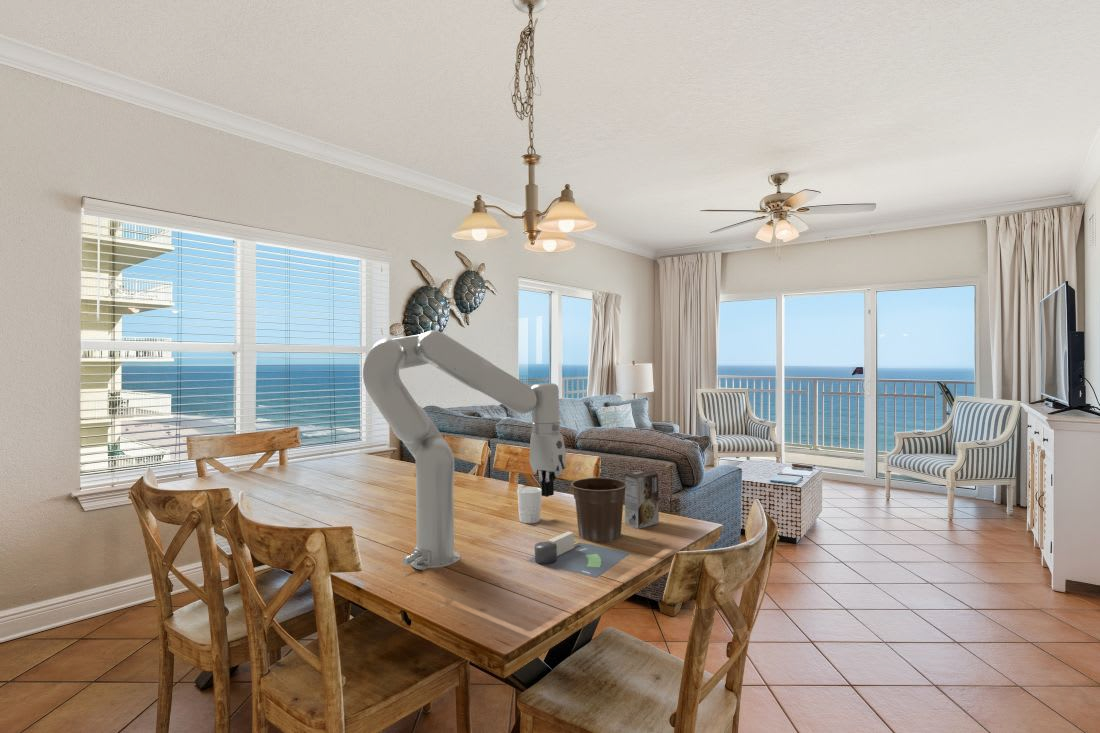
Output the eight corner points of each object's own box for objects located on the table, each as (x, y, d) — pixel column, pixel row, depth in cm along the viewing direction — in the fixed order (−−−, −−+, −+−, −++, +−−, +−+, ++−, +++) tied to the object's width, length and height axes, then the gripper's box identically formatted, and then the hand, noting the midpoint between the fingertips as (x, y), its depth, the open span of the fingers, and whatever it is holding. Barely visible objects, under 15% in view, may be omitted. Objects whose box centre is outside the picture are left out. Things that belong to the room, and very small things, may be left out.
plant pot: (559, 537, 160) (559, 482, 160) (598, 525, 170) (598, 474, 170) (599, 552, 148) (599, 493, 147) (638, 539, 158) (638, 483, 158)
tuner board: (596, 581, 128) (596, 577, 128) (527, 564, 139) (527, 560, 139) (630, 556, 144) (630, 552, 144) (566, 542, 155) (566, 538, 155)
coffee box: (644, 518, 177) (644, 469, 177) (659, 523, 172) (659, 473, 172) (623, 524, 172) (623, 473, 172) (638, 529, 167) (638, 476, 167)
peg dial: (547, 565, 135) (547, 548, 135) (530, 560, 139) (530, 543, 139) (586, 545, 149) (586, 530, 149) (570, 541, 152) (570, 526, 152)
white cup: (543, 517, 180) (543, 487, 180) (540, 524, 172) (540, 493, 172) (519, 516, 181) (519, 486, 181) (515, 523, 173) (515, 492, 173)
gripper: (575, 429, 146) (577, 497, 147) (536, 425, 157) (537, 488, 157) (556, 432, 141) (558, 503, 141) (517, 428, 151) (519, 493, 152)
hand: (547, 495), depth 149 cm, fingers closed
